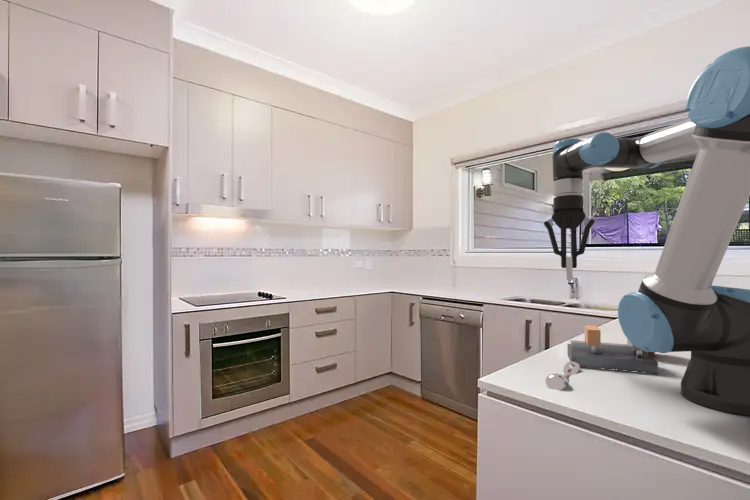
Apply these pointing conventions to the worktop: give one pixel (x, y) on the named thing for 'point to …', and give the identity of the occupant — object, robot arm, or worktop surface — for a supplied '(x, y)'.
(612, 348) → the bar
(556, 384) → the grey spoon
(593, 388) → the worktop surface
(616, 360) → the hole plate
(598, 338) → the block
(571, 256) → the robot arm
